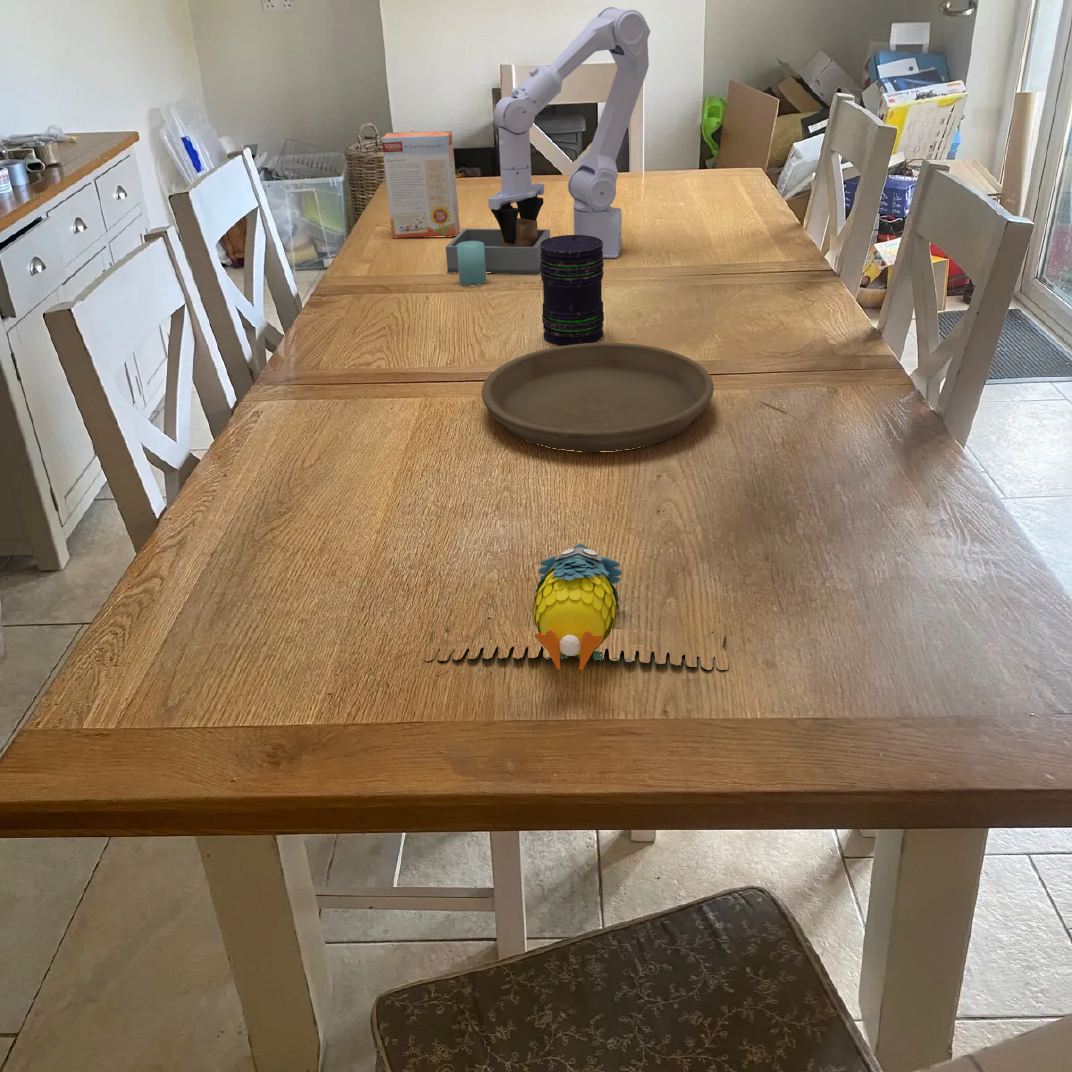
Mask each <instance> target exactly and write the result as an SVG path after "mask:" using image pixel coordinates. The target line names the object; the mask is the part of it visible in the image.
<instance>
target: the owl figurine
mask: <svg viewBox="0 0 1072 1072" xmlns="http://www.w3.org/2000/svg"><path fill="white" fill-rule="evenodd" d="M540 565H541V567H540V568H538V570H537V571H538V574H540V575H541V576H539V578H540V581H538V583H537V585H536V589H535V595H534V599H533V604H532V609H531V614H532V616H533V621H534V626H536V627H537V629H538V632H539V633H535V635H534V636H535V638H536V639H538V641H539V642H540V643H541V644H542V645H543V646H544V647H545V648H546V649H547V650H548V652H549V654H550V656H551V658H552V659H551V660H552V662H553V664H554V666H555V668H556V670H561V659H560V658H566V657H568V656H569V657H570V656H574V657H577V658H578V657H579V658H580V659H579V658H578V659H579V667H578V669H579V670H580V671H582V670H584V668H585V667H586V665H587V663H588V661H589V660H590V658H591V656H592V653H593V657H592V659H593V658H594V659H593V660H594V661H596V660H600V661H599V662H602V661H604V660H603V658H602V657H603V655H601V654H603V653H602V652H598V651H595V650H596V649H597V648H598V647H599V646H600V645H601V644H602V643H603V642H604V640H605V639H606V638H607V637H608V636H609V634H610V632H611V629H612V630H613V629H614V628H616V624H617V617H618V610H619V609H620V606H619V601H620V600H619V596H618V595H619V592H618V591H617V590H618V589H617V588H616V587H615V586H614V585H615V584H618V583H620V581H621V580H622V579H621V578H620V577H619V576H622V574H623V571H622V570H621V569H619V568H618V567H619V566H620V565H621V564H620V562H618V561H617V560H614V559H611V558H609V557H603V556H600V555H599V554H598V553H597V552H596V551H595V550H593V549H590V548H589V547H587V546H586V545H585V544H582V543H578V544H576V545H575V546H573V547H572V548H569V549H565V550H563V551H562V552H561V554H559V556H551V557H548V558H545V559H542V560H541V561H540ZM577 655H578V656H577ZM600 655H601V656H600ZM569 657H568V658H569ZM547 658H550V657H547ZM570 658H571V657H570ZM629 658H630V657H628V658H627V659H625V660H626V661H629V662H630V661H631V660H632V659H631V660H629ZM566 659H567V658H566ZM613 659H617V660H616V661H618V658H613ZM601 660H602V661H601ZM618 662H619V661H618Z"/></svg>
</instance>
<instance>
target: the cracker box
mask: <svg viewBox="0 0 1072 1072" xmlns="http://www.w3.org/2000/svg"><path fill="white" fill-rule="evenodd" d="M453 140H454V139H453V131H452V130H438V131H437V130H436V131H430V130H429V131H405V132H404V131H401V132H387V133H386V134H385V135H384V136H382V137H381V145H382V146H381V147H382V156H383V165H384V173H385V174H384V175H385V176H384V177H385V183H386V192H387V203H388V210H389V218H390V220H389V221H390V229H391V236H392V239H396V238H395V237H424V236H425V237H426V236H427V237H426V238H429V237H428V236H455V235H456V236H457V235H458V234H459V233H460V231H461V227H460V226H461V225H460V217H459V203H458V190H457V180H456V179H457V178H456V177H457V176H456V166H455V163H456V162H455V154H454V141H453ZM459 230H460V231H459Z"/></svg>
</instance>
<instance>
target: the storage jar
mask: <svg viewBox="0 0 1072 1072" xmlns="http://www.w3.org/2000/svg"><path fill="white" fill-rule="evenodd" d="M602 248H603V241H602V240H601V239H599V238H596V237H593V236H587V235H574V234H565V235H557V236H552V237H551V236H550V238H548V239H545V240H543V241H542V242H541V243H540V250H541V260H540V268H541V270H540V272H541V273H540V278H541V281H542V288H543V289H542V290H543V291H542V292H543V293H542V294H543V295H542V296H543V302H542V305H541V306H542V308H541V309H542V314H541V317H542V318H541V320H542V322H541V323H542V326H543V328H542V329H543V331H544V332H543V335H542V336H543V339H544V341H545V342H546V343H548V344H551V345H553V344H554V346H557V347H560V346H566V345H574V344H585V343H595V342H596V343H598V342H600V341H601V340H602V339H603V338H602V337H604V329H603V328H604V321H605V313H604V301H603V300H602V292H603V290H602V288H603V287H602V286H603V285H602V280H603V277H604V273H605V272H604V258H603V251H602ZM601 338H602V339H601ZM599 340H600V341H599ZM597 341H598V342H597Z"/></svg>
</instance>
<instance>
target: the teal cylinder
mask: <svg viewBox="0 0 1072 1072" xmlns="http://www.w3.org/2000/svg"><path fill="white" fill-rule="evenodd" d="M457 254H458V267H459V273H458V276H459V278H458V279H459V284H460V285H461V284H462V286H465V285H477V286H479V285H478V284H482V283H484V282H485V281H486V282H487V274H486V267H485V251H484V243H483V242H480V241H465V242H461V243H458V244H457ZM484 284H485V283H484ZM482 285H483V284H482Z"/></svg>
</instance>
